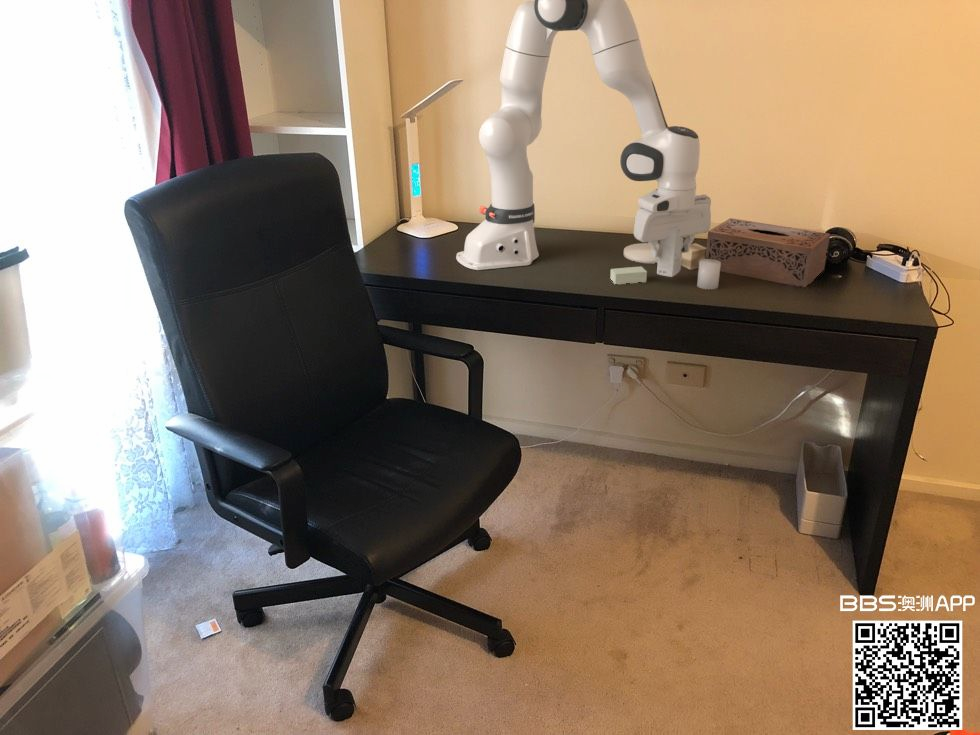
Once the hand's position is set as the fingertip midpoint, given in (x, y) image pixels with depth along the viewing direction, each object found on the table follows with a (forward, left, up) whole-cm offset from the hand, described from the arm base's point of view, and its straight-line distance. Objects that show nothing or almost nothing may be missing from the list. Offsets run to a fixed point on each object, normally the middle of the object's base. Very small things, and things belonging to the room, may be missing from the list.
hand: (670, 254), depth 196 cm
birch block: (+12, +7, -7) cm, 16 cm away
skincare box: (0, 0, -5) cm, 5 cm away
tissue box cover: (+26, -4, -7) cm, 28 cm away
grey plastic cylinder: (+6, -7, -7) cm, 12 cm away
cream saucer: (+7, +19, -7) cm, 21 cm away
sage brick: (-9, +5, -7) cm, 12 cm away
